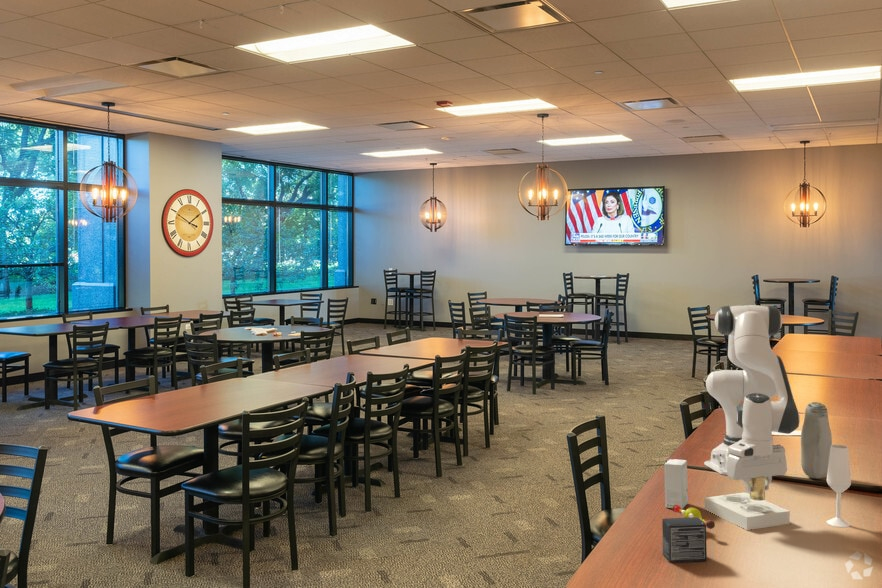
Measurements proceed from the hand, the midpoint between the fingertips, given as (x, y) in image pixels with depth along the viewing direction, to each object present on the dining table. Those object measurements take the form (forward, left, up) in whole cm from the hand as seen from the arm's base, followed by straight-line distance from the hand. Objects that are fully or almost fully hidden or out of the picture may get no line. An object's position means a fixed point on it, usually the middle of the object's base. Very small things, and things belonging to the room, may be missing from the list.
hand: (757, 490), depth 238 cm
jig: (-5, 0, -10) cm, 11 cm away
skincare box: (-22, -14, -10) cm, 28 cm away
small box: (+16, -38, -10) cm, 42 cm away
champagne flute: (+10, +22, -10) cm, 26 cm away
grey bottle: (-30, +52, -10) cm, 61 cm away
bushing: (0, 0, -2) cm, 2 cm away
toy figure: (-1, -23, -10) cm, 25 cm away
